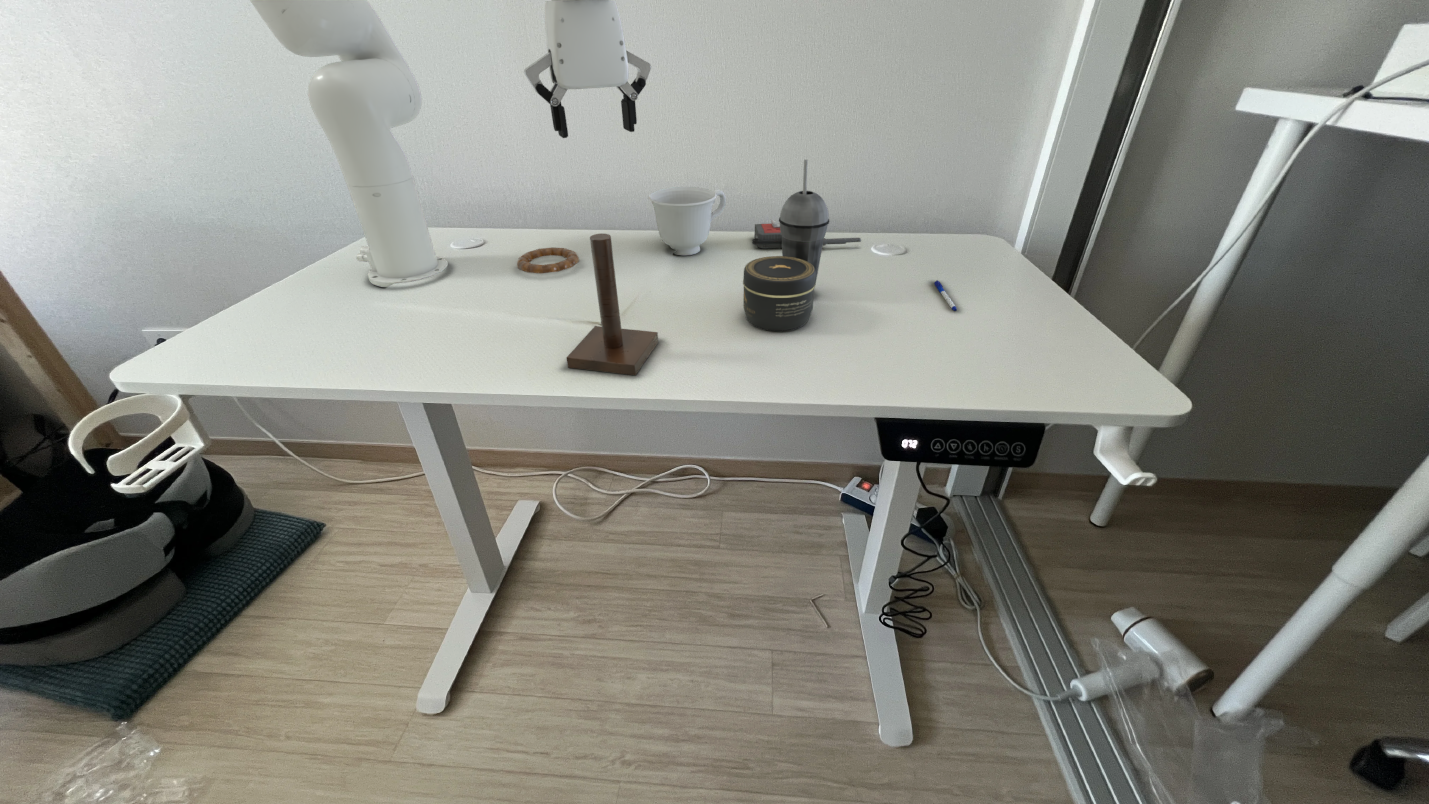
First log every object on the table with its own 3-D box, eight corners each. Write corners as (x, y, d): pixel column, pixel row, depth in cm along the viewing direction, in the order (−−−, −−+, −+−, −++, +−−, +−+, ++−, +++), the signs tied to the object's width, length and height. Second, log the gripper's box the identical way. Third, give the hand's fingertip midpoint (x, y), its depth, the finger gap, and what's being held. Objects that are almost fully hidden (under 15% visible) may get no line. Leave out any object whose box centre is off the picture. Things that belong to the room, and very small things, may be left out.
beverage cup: (827, 289, 93) (841, 155, 82) (814, 307, 87) (827, 165, 76) (784, 282, 95) (791, 151, 84) (768, 299, 90) (774, 161, 79)
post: (567, 367, 73) (546, 247, 65) (596, 335, 81) (580, 222, 72) (635, 375, 72) (622, 252, 63) (658, 341, 79) (650, 227, 70)
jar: (732, 309, 87) (733, 259, 83) (794, 299, 90) (797, 251, 85) (757, 338, 79) (759, 285, 75) (824, 327, 82) (829, 275, 77)
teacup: (742, 250, 108) (743, 194, 103) (672, 266, 102) (668, 208, 96) (708, 233, 117) (707, 181, 111) (641, 247, 110) (636, 192, 105)
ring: (507, 275, 99) (504, 264, 98) (536, 254, 108) (534, 244, 107) (563, 280, 97) (561, 269, 96) (588, 258, 106) (587, 248, 105)
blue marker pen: (931, 284, 94) (933, 278, 94) (937, 284, 94) (938, 278, 94) (952, 312, 86) (954, 306, 85) (958, 312, 86) (960, 306, 85)
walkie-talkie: (753, 253, 107) (861, 249, 108) (754, 229, 104) (864, 225, 105) (747, 238, 114) (849, 234, 115) (748, 215, 112) (851, 211, 113)
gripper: (635, -12, 80) (645, 124, 90) (505, -12, 74) (530, 134, 84) (654, -14, 75) (662, 132, 84) (515, -14, 69) (541, 143, 78)
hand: (596, 133), depth 84 cm, fingers open, 9 cm apart
